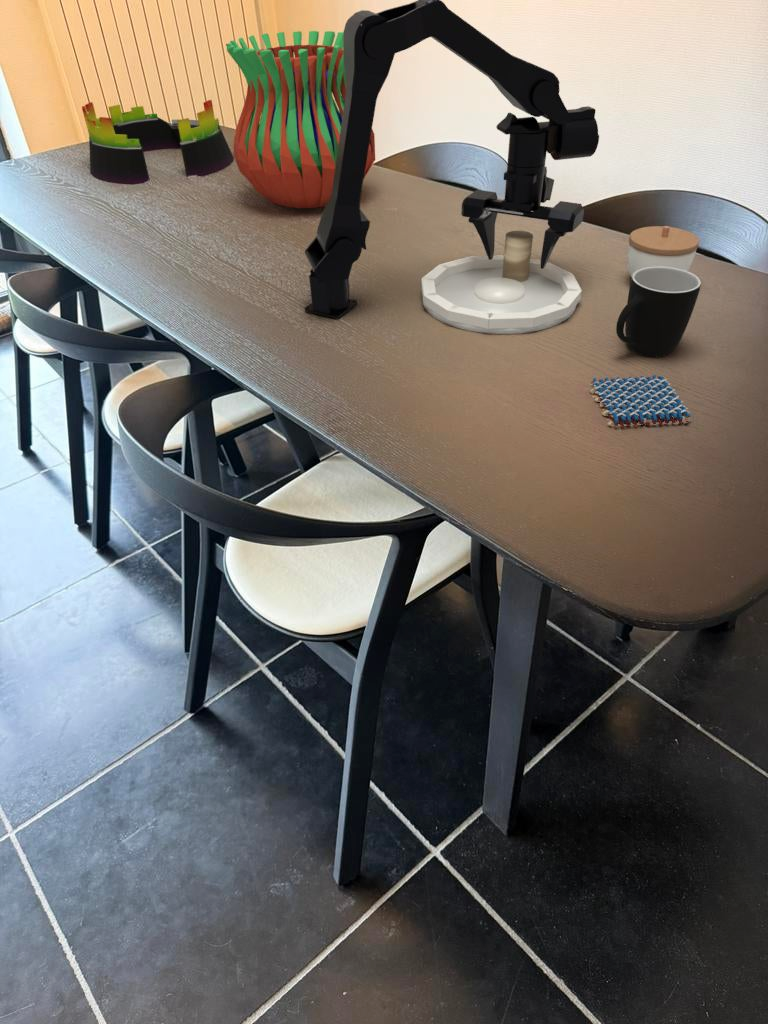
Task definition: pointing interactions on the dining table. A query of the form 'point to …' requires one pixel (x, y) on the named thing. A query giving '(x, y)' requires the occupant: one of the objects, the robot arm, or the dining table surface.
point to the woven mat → (638, 401)
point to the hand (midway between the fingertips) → (516, 263)
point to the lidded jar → (661, 248)
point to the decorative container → (152, 143)
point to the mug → (657, 309)
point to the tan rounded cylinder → (517, 255)
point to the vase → (292, 117)
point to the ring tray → (499, 296)
